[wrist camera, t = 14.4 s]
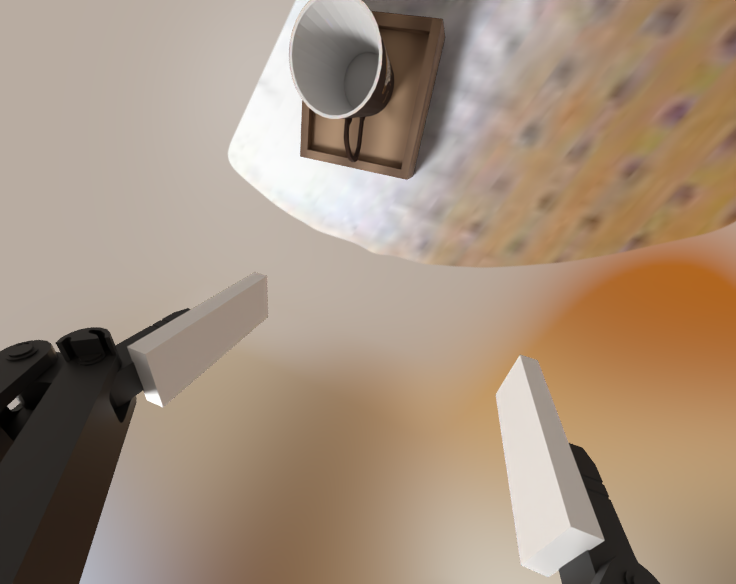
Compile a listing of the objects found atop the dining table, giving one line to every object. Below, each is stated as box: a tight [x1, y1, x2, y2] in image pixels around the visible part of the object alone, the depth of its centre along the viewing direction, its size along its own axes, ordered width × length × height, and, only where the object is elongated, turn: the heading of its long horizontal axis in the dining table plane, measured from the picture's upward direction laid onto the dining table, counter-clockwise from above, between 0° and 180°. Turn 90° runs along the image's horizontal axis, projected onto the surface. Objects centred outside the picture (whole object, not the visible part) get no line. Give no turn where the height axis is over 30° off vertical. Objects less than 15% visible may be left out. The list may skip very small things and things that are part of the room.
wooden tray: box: [300, 11, 445, 180], centre depth 34 cm, size 15×15×5 cm
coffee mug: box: [289, 0, 394, 162], centre depth 28 cm, size 12×9×10 cm
